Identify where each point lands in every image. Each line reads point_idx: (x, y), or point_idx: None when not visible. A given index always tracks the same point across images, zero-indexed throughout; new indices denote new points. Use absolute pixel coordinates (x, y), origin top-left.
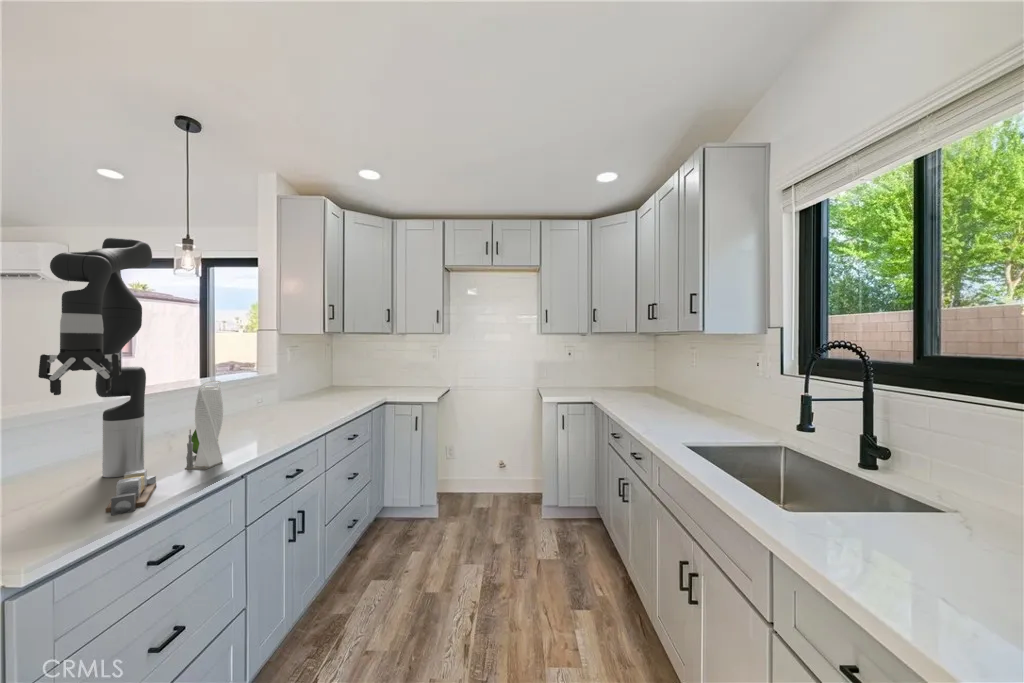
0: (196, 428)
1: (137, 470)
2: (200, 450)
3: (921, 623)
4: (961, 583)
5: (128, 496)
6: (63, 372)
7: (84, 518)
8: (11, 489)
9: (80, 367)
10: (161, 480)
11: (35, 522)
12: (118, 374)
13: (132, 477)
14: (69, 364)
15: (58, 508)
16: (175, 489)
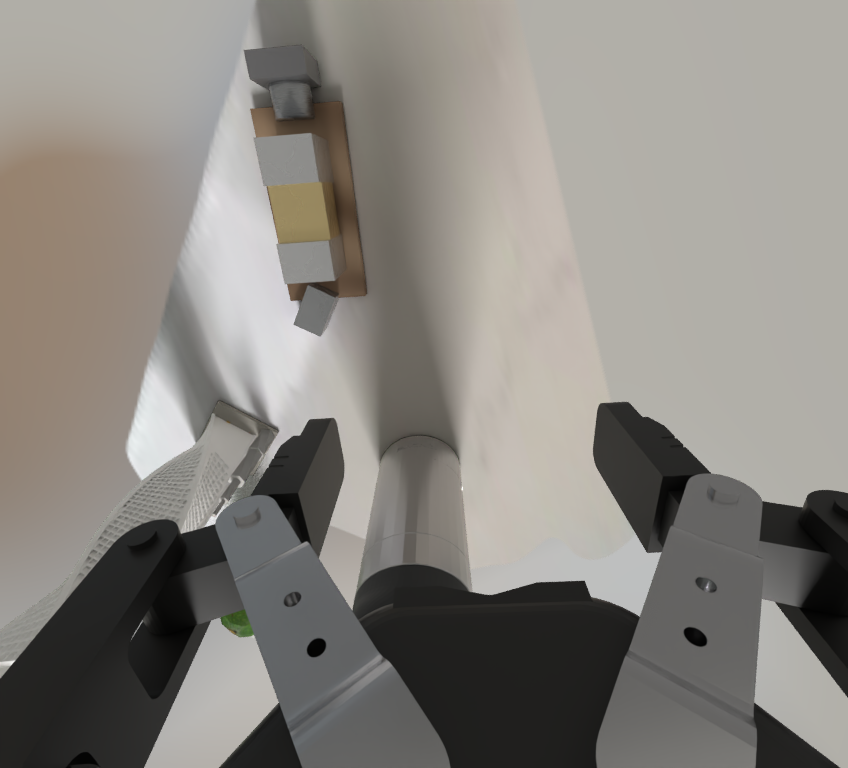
0: (186, 508)
1: (308, 282)
2: (225, 468)
3: None
4: None
5: (259, 49)
6: (664, 550)
7: (380, 75)
8: None
9: (498, 630)
10: (302, 354)
11: (491, 115)
12: (127, 533)
13: (304, 228)
14: (658, 658)
15: (474, 222)
16: (229, 241)
